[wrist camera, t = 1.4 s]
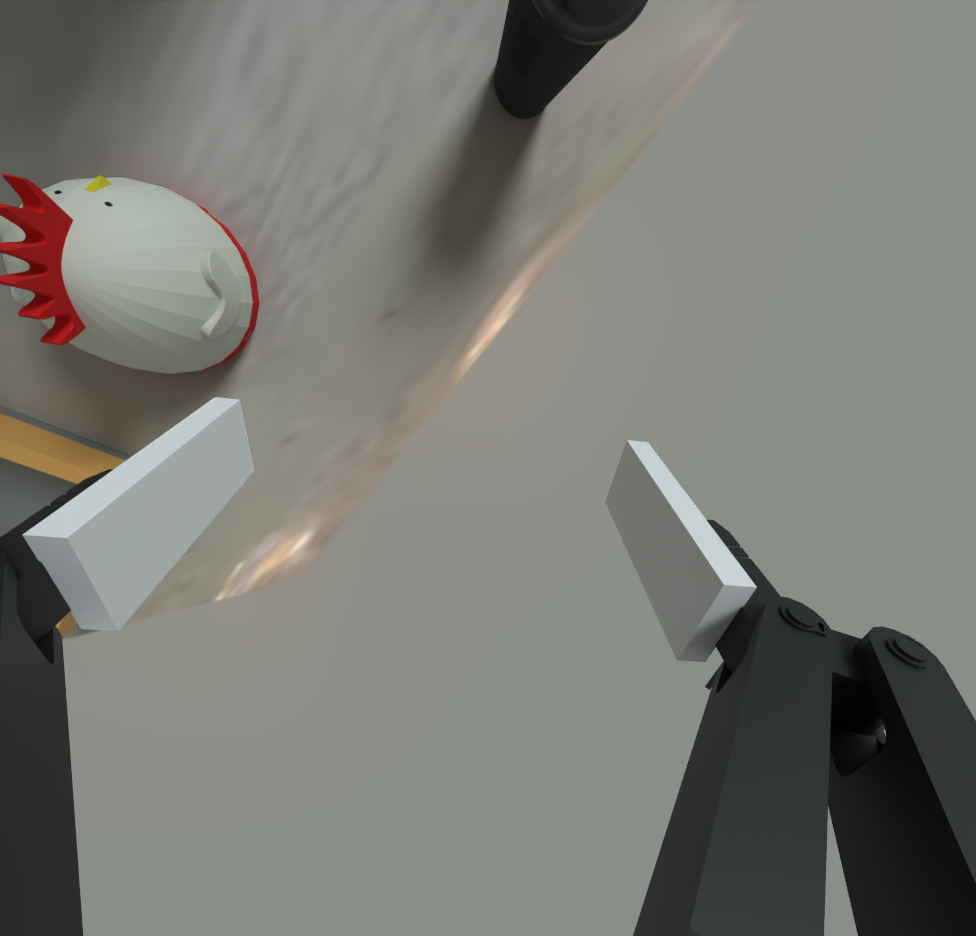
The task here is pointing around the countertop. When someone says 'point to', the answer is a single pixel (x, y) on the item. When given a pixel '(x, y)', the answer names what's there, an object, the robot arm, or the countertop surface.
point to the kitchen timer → (128, 273)
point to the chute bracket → (43, 470)
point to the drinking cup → (553, 46)
